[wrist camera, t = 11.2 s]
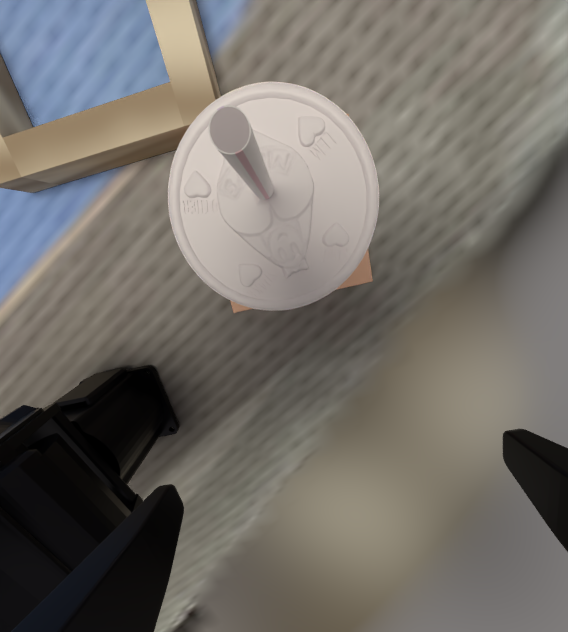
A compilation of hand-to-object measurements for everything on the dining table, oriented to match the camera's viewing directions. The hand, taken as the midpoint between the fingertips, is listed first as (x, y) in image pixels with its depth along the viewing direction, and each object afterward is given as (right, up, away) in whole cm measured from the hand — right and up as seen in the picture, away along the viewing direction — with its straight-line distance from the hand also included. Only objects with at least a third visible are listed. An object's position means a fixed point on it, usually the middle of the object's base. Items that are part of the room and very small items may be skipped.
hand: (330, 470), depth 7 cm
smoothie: (-1, +10, +10) cm, 14 cm away
